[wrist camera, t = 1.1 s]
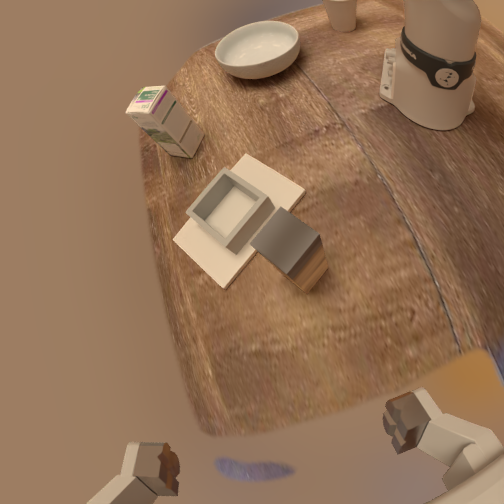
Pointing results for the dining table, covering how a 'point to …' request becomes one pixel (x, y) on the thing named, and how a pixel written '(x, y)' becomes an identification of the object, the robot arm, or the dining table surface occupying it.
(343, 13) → the dixie cup
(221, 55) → the cereal bowl
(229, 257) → the caddy
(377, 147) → the dining table surface
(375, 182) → the dining table surface
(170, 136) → the syrup box
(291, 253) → the tool handle
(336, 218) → the dining table surface
